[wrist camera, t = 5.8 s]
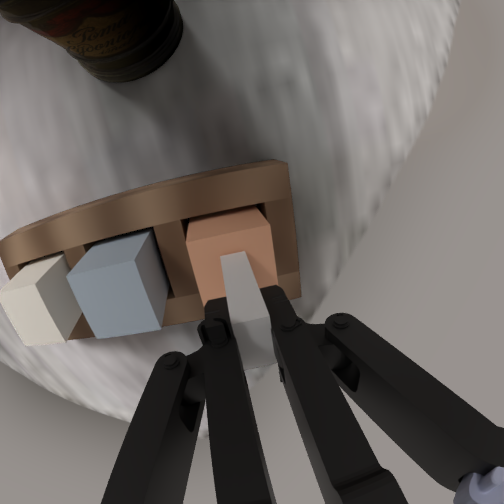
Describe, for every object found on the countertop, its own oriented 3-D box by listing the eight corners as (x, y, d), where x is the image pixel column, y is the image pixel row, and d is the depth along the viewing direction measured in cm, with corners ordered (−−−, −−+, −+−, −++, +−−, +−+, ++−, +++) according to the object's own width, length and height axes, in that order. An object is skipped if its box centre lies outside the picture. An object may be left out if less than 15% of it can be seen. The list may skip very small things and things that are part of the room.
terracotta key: (204, 271, 23) (205, 312, 18) (190, 215, 21) (185, 242, 16) (261, 259, 23) (279, 296, 18) (252, 202, 21) (270, 224, 16)
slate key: (116, 295, 21) (97, 339, 16) (96, 242, 19) (66, 276, 14) (169, 284, 22) (161, 329, 16) (152, 227, 20) (134, 260, 14)
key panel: (56, 320, 24) (43, 342, 20) (17, 229, 19) (-5, 243, 16) (288, 275, 26) (301, 296, 23) (273, 159, 22) (287, 162, 18)
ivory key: (51, 307, 21) (25, 346, 15) (30, 261, 19) (-4, 294, 13) (89, 300, 21) (66, 342, 16) (68, 250, 19) (35, 284, 14)
